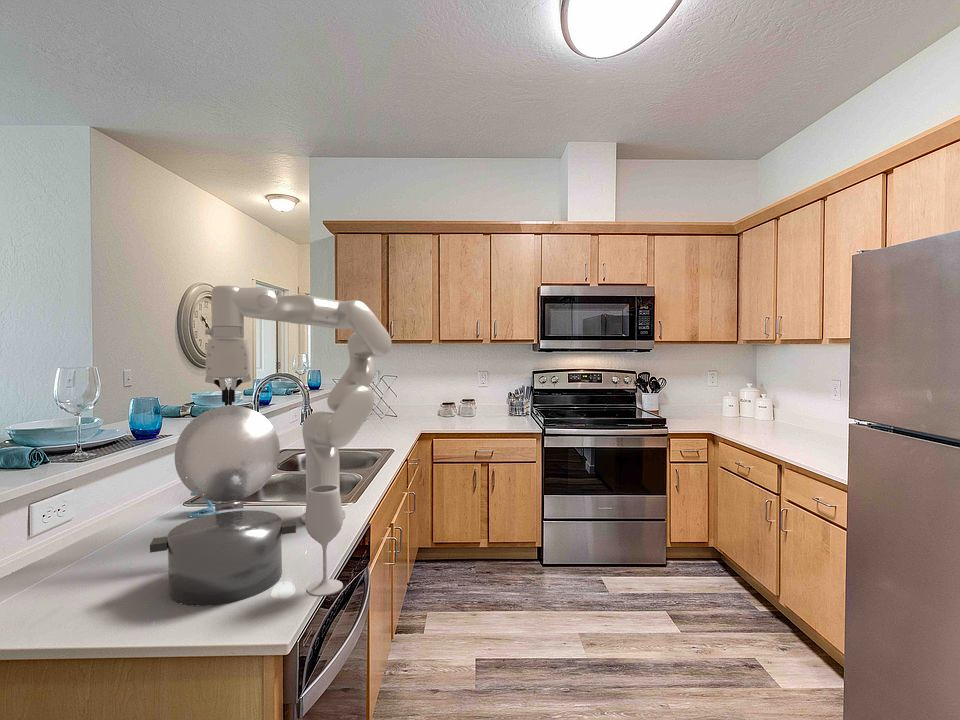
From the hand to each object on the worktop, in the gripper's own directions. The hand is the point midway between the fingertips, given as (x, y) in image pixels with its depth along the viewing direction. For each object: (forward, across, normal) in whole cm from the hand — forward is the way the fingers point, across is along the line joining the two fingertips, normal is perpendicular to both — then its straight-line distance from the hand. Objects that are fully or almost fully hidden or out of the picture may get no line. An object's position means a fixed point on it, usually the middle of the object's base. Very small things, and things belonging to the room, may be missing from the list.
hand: (228, 404), depth 136 cm
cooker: (+36, +1, -25) cm, 44 cm away
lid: (+12, 0, -10) cm, 16 cm away
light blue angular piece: (+36, -7, +30) cm, 48 cm away
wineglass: (+36, +20, -37) cm, 55 cm away
